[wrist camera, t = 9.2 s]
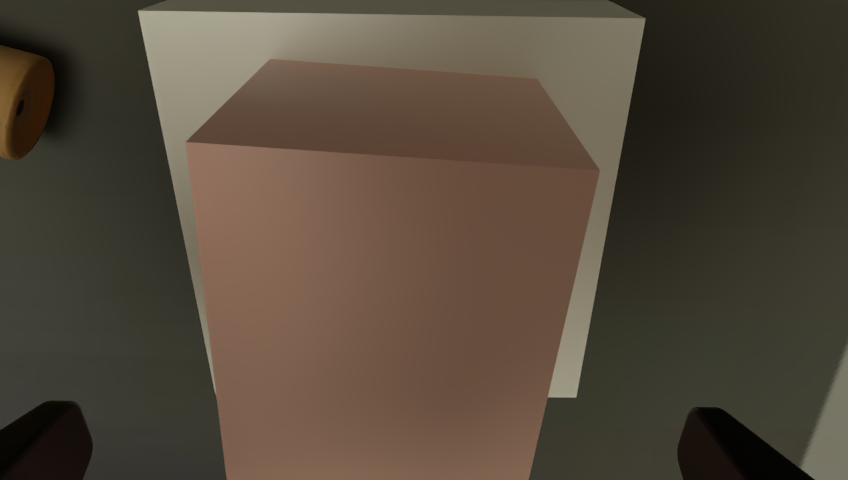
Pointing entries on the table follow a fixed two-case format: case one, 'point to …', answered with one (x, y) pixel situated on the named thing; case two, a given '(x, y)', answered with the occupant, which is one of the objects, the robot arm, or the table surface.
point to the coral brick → (386, 269)
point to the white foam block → (418, 50)
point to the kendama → (23, 100)
